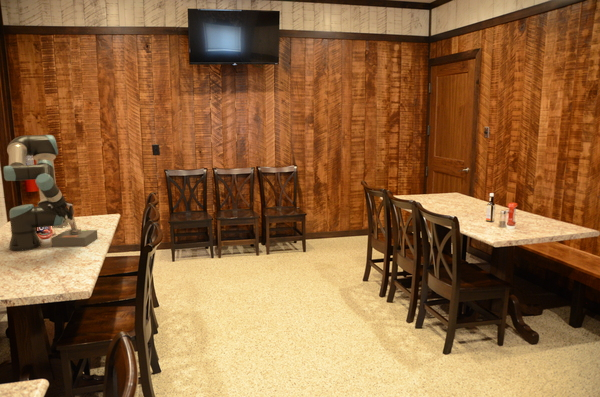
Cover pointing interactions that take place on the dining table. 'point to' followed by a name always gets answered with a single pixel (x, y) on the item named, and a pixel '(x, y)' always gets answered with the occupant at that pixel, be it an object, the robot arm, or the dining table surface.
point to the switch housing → (74, 238)
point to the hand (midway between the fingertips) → (71, 222)
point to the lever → (74, 226)
